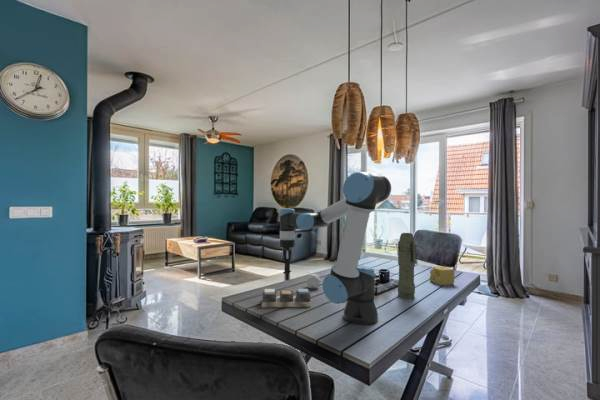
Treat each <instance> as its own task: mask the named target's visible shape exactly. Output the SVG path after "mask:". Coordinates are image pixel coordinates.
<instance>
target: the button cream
mask: <svg viewBox="0 0 600 400" xmlns="http://www.w3.org/2000/svg"><path fill="white" fill-rule="evenodd" d="M263 291H264V294H275V291H276V289H275V288H264V290H263Z"/></svg>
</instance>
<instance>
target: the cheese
mask: <svg viewBox="0 0 600 400" xmlns="http://www.w3.org/2000/svg"><path fill="white" fill-rule="evenodd" d="M429 273H430V276H429V282H430V281H431V282H430V283H433V282H434V284H435V285H438V284H439V286H450V285H451V284H452V285H454V283H455V269H453V268H451V267H450V268H449V267H446V266H443V265H437V266H434V267H433V268H432V269H430V271H429Z"/></svg>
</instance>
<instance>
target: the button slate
mask: <svg viewBox="0 0 600 400" xmlns="http://www.w3.org/2000/svg"><path fill="white" fill-rule="evenodd" d="M297 290H298V294H309V292H310V291H309V292H308V290H309V288H297Z"/></svg>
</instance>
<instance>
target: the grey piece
mask: <svg viewBox="0 0 600 400" xmlns="http://www.w3.org/2000/svg"><path fill="white" fill-rule="evenodd" d="M264 291H265V290H263V291H262V292H263V293H262V300H261V307H262V308H312V302H311V292H310V290H309V289H308V292H309V294H298V289H297V290H296V291H295V293H296V295H294V290H288V289H287V290H286V291H291V293H292V294H282V291H283V290H279V295H277V290H275V294H264Z"/></svg>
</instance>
